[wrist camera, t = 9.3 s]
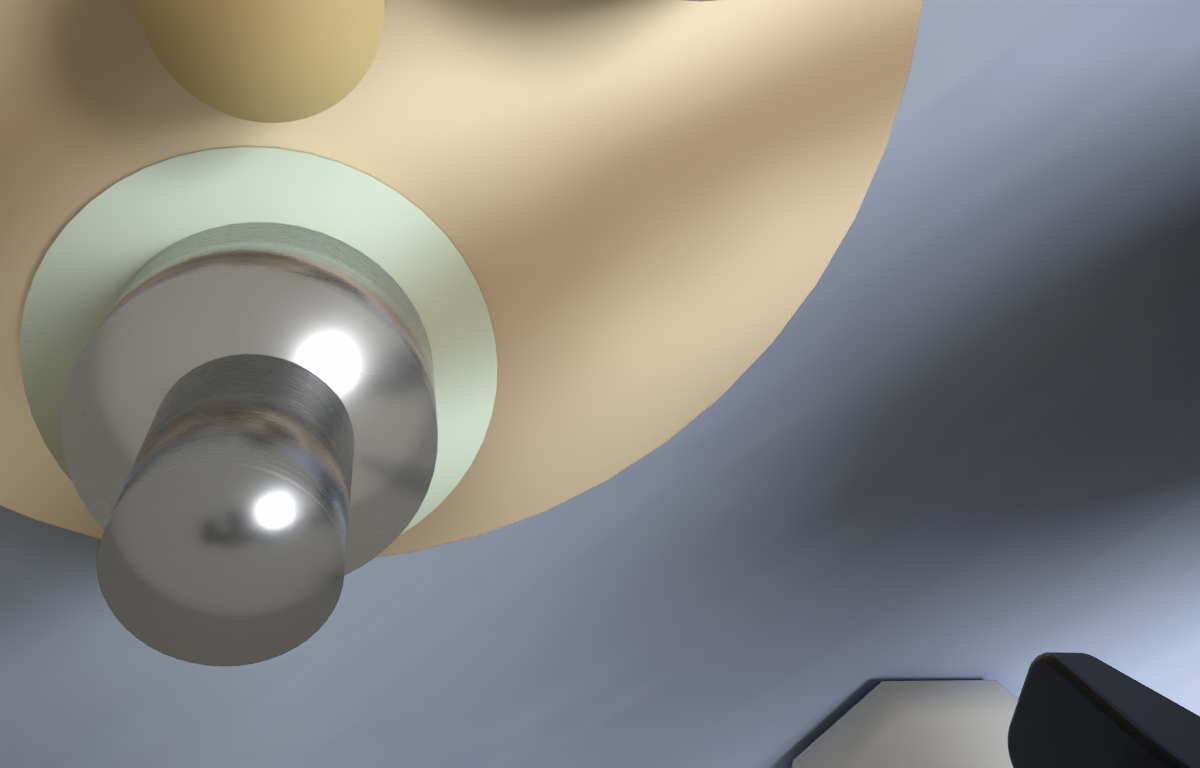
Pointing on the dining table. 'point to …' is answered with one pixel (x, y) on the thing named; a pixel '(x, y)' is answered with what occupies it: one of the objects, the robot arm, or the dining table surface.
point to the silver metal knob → (248, 437)
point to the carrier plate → (450, 200)
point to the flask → (919, 728)
